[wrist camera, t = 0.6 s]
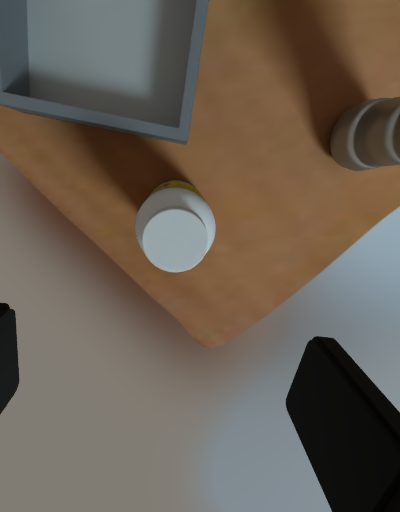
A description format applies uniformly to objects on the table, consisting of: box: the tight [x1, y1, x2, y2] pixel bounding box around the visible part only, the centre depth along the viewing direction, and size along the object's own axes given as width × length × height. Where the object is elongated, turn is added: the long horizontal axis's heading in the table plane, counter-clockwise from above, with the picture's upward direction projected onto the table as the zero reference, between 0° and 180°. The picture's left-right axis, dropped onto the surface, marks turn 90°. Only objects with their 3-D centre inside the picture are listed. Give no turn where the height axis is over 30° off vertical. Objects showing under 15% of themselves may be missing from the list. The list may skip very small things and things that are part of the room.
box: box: [0, 0, 209, 145], centre depth 22 cm, size 16×16×5 cm
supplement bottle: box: [135, 180, 215, 272], centre depth 24 cm, size 7×7×13 cm
